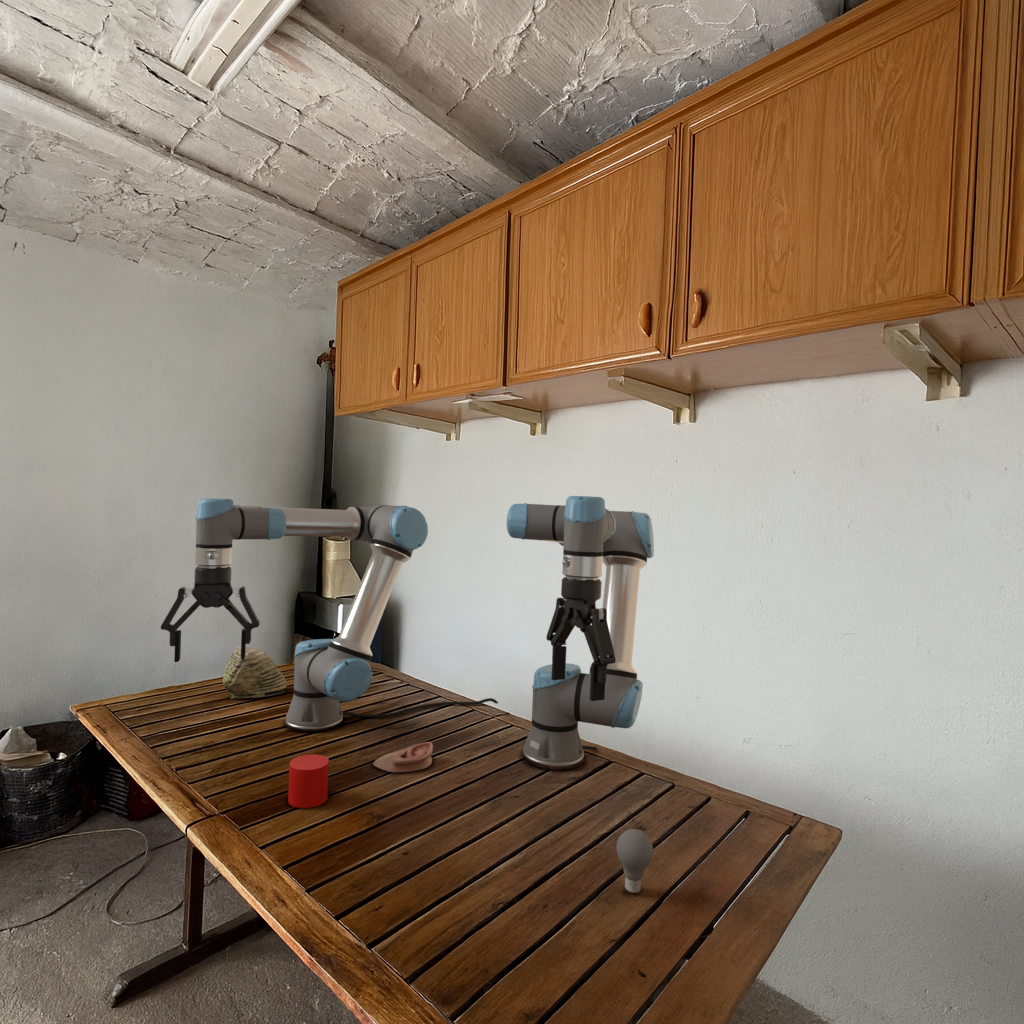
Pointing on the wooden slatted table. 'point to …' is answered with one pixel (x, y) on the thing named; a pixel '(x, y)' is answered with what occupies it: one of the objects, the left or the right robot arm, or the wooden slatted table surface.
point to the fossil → (252, 675)
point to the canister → (308, 781)
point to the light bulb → (634, 857)
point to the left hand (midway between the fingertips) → (210, 659)
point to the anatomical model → (407, 759)
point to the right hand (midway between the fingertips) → (576, 689)
